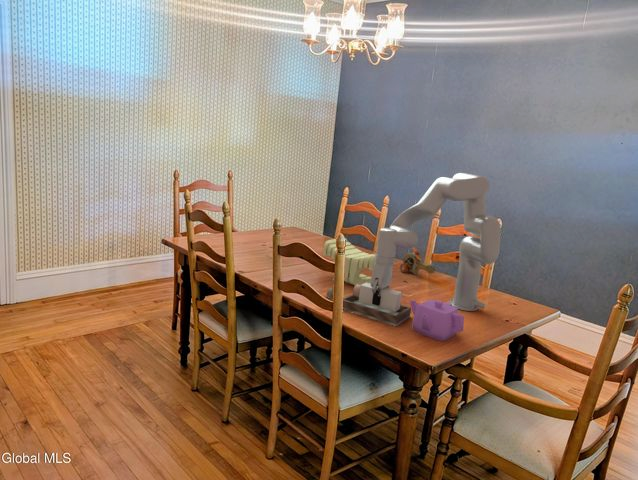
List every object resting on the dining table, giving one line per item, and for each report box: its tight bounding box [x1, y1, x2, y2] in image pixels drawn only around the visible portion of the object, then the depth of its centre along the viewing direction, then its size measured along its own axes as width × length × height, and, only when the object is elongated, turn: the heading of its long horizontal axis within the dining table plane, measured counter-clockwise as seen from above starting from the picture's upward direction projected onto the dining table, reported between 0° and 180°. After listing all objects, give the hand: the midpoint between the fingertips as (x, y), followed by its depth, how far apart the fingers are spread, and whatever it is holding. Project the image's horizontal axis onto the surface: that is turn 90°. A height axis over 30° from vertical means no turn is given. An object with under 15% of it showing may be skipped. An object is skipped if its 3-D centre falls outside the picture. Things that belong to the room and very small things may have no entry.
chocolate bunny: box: [325, 277, 335, 300], centre depth 206 cm, size 6×8×10 cm
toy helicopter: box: [399, 246, 436, 275], centre depth 254 cm, size 8×21×14 cm, turn 38°
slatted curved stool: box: [322, 237, 376, 286], centre depth 233 cm, size 30×16×18 cm, turn 47°
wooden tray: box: [342, 293, 412, 327], centre depth 194 cm, size 25×14×4 cm, turn 56°
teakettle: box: [409, 299, 465, 342], centre depth 180 cm, size 17×17×12 cm
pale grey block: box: [352, 283, 403, 312], centre depth 193 cm, size 19×5×7 cm, turn 57°
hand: (379, 302), depth 193 cm, fingers closed on pale grey block, 5 cm apart
